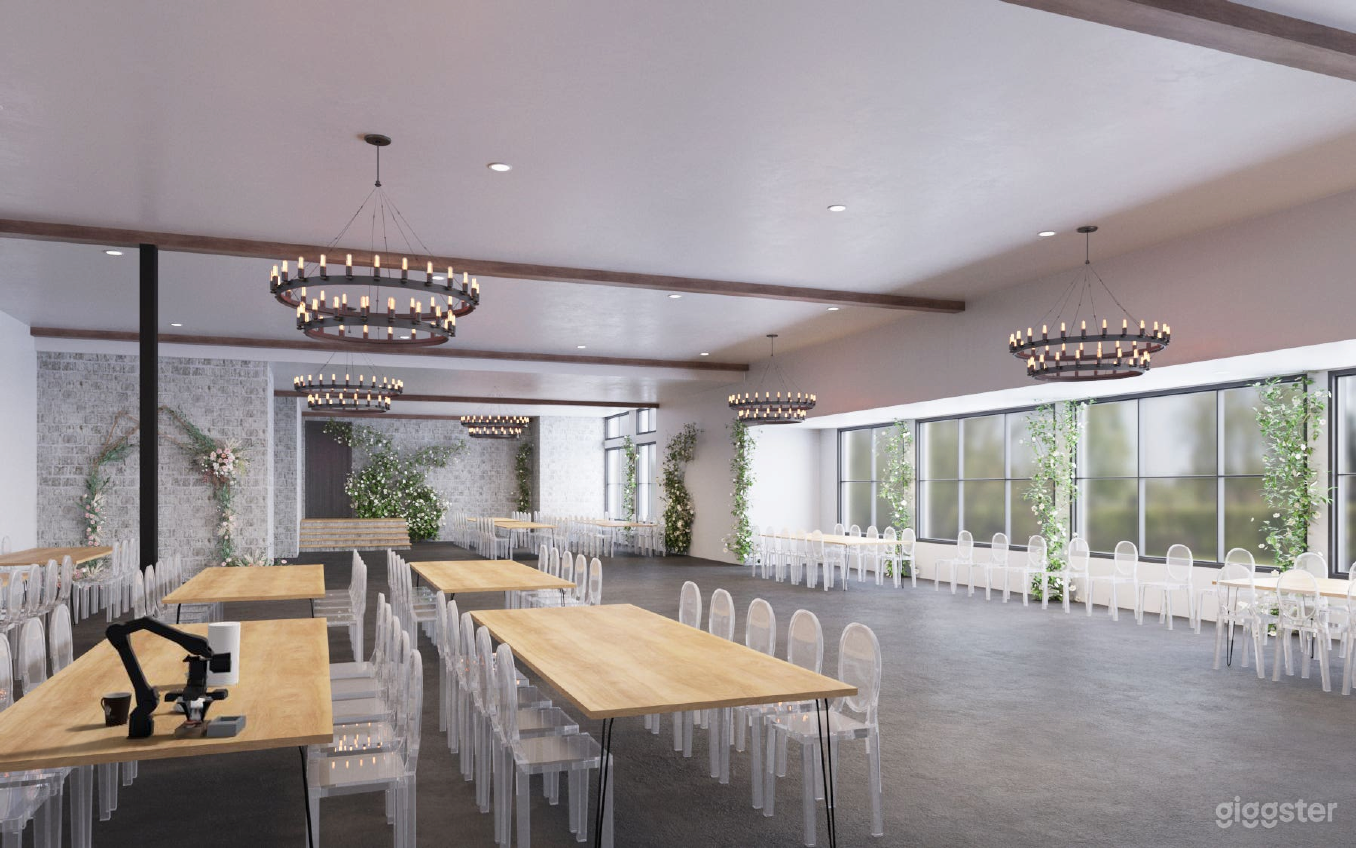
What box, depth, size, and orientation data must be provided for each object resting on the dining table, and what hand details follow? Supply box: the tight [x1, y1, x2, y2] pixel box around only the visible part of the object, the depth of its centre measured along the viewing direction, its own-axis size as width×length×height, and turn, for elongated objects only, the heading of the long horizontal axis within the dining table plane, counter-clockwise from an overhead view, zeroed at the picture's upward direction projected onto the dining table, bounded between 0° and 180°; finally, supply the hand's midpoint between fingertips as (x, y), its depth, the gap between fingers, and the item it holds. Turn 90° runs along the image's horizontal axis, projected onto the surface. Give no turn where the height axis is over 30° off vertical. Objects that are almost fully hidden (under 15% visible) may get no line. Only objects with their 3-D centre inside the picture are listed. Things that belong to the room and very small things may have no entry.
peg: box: [189, 706, 203, 725], centre depth 314 cm, size 4×4×8 cm
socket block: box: [173, 719, 213, 740], centre depth 311 cm, size 8×12×3 cm, turn 11°
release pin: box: [183, 719, 197, 728], centre depth 308 cm, size 4×4×4 cm
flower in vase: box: [172, 655, 205, 713], centre depth 344 cm, size 13×11×25 cm
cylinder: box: [207, 621, 242, 688], centre depth 392 cm, size 12×12×25 cm
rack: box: [206, 714, 247, 738], centre depth 313 cm, size 9×12×4 cm
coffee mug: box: [100, 691, 133, 727], centre depth 324 cm, size 12×9×10 cm
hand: (195, 721), depth 314 cm, fingers closed on peg, 4 cm apart
